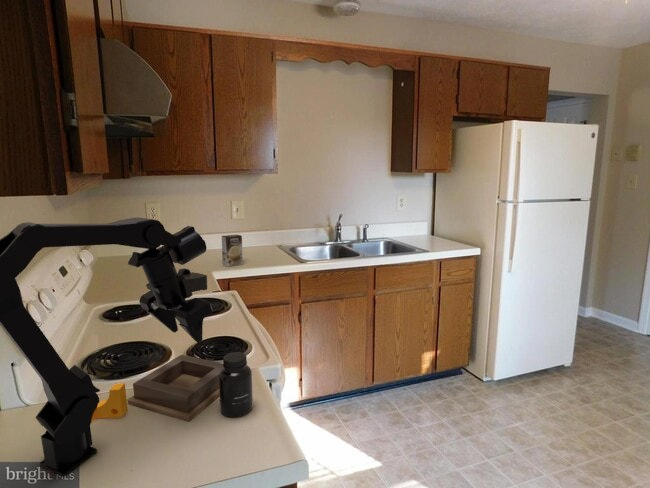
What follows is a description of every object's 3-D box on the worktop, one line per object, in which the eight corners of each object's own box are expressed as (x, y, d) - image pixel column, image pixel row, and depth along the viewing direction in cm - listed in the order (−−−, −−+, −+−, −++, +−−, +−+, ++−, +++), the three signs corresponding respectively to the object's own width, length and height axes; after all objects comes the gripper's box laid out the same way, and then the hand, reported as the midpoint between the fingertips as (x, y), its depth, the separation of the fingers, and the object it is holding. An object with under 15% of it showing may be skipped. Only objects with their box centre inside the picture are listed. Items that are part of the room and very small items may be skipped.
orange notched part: (58, 425, 81) (53, 396, 79) (70, 412, 85) (66, 384, 84) (118, 423, 81) (115, 394, 80) (127, 410, 85) (124, 383, 84)
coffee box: (227, 267, 210) (226, 237, 207) (222, 265, 215) (220, 235, 212) (243, 264, 215) (242, 235, 212) (238, 262, 220) (236, 234, 217)
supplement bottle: (241, 421, 81) (238, 367, 79) (214, 414, 84) (210, 361, 81) (259, 403, 87) (257, 352, 85) (232, 397, 90) (230, 347, 88)
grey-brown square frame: (188, 421, 81) (187, 401, 80) (127, 403, 88) (125, 385, 87) (237, 381, 97) (236, 364, 96) (182, 368, 103) (181, 352, 102)
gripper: (221, 263, 81) (242, 325, 88) (170, 252, 92) (192, 308, 99) (175, 291, 74) (201, 357, 80) (126, 275, 85) (153, 334, 91)
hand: (187, 336), depth 88 cm, fingers open, 9 cm apart
